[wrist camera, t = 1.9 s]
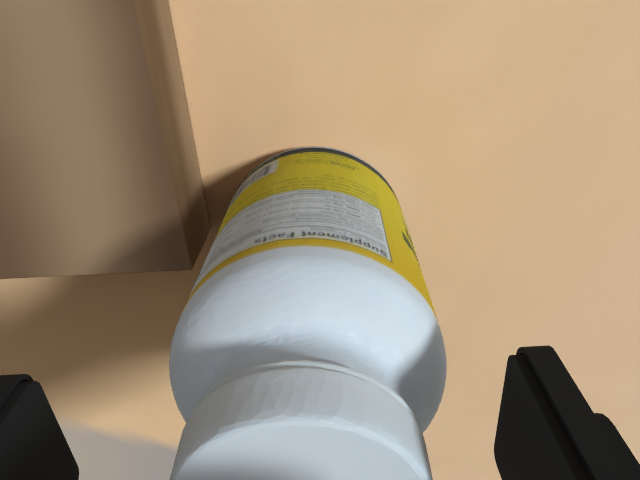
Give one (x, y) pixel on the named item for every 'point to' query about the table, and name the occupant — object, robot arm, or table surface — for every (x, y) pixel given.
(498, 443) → the robot arm
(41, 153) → the walnut block
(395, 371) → the pill bottle
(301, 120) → the table surface
